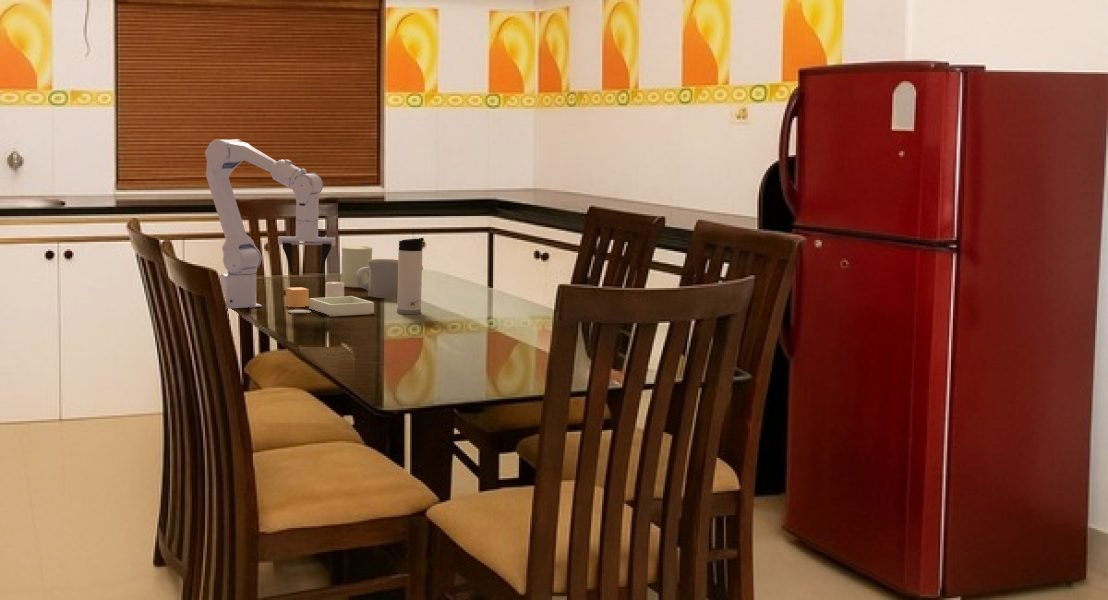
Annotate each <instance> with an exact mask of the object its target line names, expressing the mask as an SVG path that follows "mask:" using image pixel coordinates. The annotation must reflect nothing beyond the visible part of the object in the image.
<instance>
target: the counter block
mask: <svg viewBox="0 0 1108 600" xmlns="http://www.w3.org/2000/svg"><path fill="white" fill-rule="evenodd" d="M309 291H310V289H309V288H305V287H300V286H299V287H285V306H286V305H289V306H292V307H305V306H309V298H310V297H309V296H310V295H309V294H310V293H309Z"/></svg>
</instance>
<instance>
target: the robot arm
mask: <svg viewBox="0 0 1108 600" xmlns="http://www.w3.org/2000/svg"><path fill="white" fill-rule="evenodd" d="M204 155H205V159H206V170H205V177H206V180H207V183H208V186H209V187H208V188H209V190H210V193H211V197H212V200H213V202H214V207H215V209H216V213H217V216H218V219H219V222H220V225H221V229H222V233H223V235H224V238H225V241H224V243H223V245H222V247H221V249H222V253H223V257H222V258H223V259H222V264H223V266H224V268H225V269H226V270H227V273H221V274H220V275H219V277H220V279H221V284H222V288H223V291H224V295H225V299H226V303H227V308H226V309H230V310H231V309H247V308H248V307H249V308H262V307H263V305H262V304H260V303H257V272H258V268H259V267H260V265H261V264H262V253H261V251H260V250H259V249H258V247H257V246H256V244H255V242H254V239H252V238H251V237H250V236H249V235H248V234H247V233H246V228H245V226H244V223H243V219H242V216H241V213H240V210H239V209H240V208H239V207H238V204H237V200H236V198H235V193H234V190H233V187H232V184H231V181H230V176H231V174H232V173H233V171H234V170H235V169H236V168H237V167H238V166H239V165H240V164H241V163H242V162H243V161H245V162H246V163H247V162H248V163H250V164H252V165H255V166H256V167H257V168H260V169H262V170H264V171H267V172H268V173H270V176H271V178H272V179H273V180H274V181H276V182H278V183H279V184H281V185H283V186H285V187H287V188H289V189H290V190H292V192H293V193H294V195H295V205H296V206H295V236H291V235H290V236H284V235H283V236H281V235H280V236H278V238H277V245H279V246H280V245H282V249H283V252H284V255H285V256H286V259H287V263H288V267H289V273H290V274H293V273H294V268H293V267H294V266H293V246H295V245H298V246H299V245H303V246H307V245H309V246H321V247H320V263H319V264H320V267H319V274H324V268H325V263H326V262H327V257H328V255H329V253H330V251H331V249H332V247H333V246H334V247H335V246H336V237H331V236H330V237H327V236H319V215H320V214H319V212H320V211H319V206H320V203H319V201H320V200H319V197H320V193H321V192H322V191H323V188H324V182H323V180H322V178H321V176H319V175H318V174H317V173H316V172H309V173H308V172H307V169H306V168H304V167H303V168H300V167H298V166H296V165H294V164H292V160H290V159H279V160H278V161H277V160H275V159H274V158H272V157H270V156H269V155H267V154H265V153H264V152H262V151H260V150H259V149H257V148H255V147H253V146H252V145H250V143H248V142H245V141H242V140H241V139H237V138H234V139H216V138H215V139H214V140H212V141H210V143H209V144H208V146H207V148H206V150H205V151H204Z"/></svg>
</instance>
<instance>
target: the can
mask: <svg viewBox="0 0 1108 600" xmlns="http://www.w3.org/2000/svg"><path fill="white" fill-rule="evenodd" d="M369 260H373V247H372V246H365V245H343V246H341V281H340V282H343V283H344V288H345V287H347V288H361V287H360V286H359V285H358V283H357V280H356V275H357V272H358V270H359V269H360V268H363V267H369V265H368V261H369ZM367 280H368V274H367V272H364V273H363V274H362V276H361V281H362V282H363V283H366V282H367Z"/></svg>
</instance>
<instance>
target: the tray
mask: <svg viewBox="0 0 1108 600" xmlns="http://www.w3.org/2000/svg"><path fill="white" fill-rule="evenodd" d="M309 309H312V310H315V311H318V312H321V313H324V314H327V315H329V316H328V317H341V316H343V317H346V316H358V315H359V316H361V315H362V316H363V315H372V314H373V315H374V314H375V302H373V301H370V300H366V299H363V298H359V297H357V296H353V295H349V296H347V295H346V296H345V295H344V297H326V298H325V297H309V308H308V310H309ZM315 311H314V312H315ZM318 312H317V313H318ZM321 313H320V314H321ZM324 314H323V315H324ZM327 315H326V316H327Z"/></svg>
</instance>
